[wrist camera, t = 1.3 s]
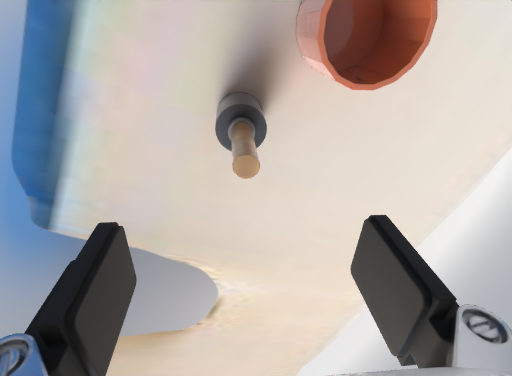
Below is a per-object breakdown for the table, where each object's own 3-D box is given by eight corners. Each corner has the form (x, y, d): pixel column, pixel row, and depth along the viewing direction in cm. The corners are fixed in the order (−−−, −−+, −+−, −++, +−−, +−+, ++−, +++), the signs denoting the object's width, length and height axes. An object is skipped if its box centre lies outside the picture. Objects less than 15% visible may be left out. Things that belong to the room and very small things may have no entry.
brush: (262, 92, 30) (283, 134, 19) (260, 135, 33) (277, 195, 22) (215, 91, 30) (209, 134, 19) (217, 136, 32) (213, 196, 21)
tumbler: (396, -29, 26) (457, -46, 19) (372, 75, 30) (414, 91, 24) (301, -35, 25) (329, -55, 18) (291, 73, 30) (310, 89, 23)
